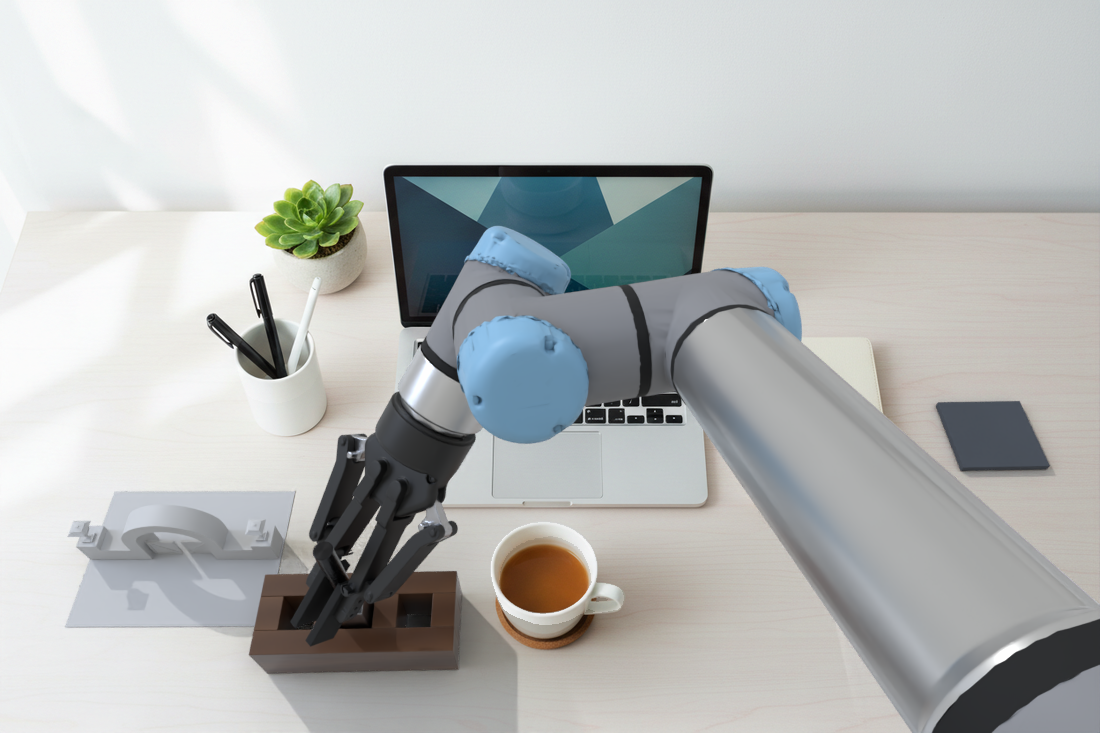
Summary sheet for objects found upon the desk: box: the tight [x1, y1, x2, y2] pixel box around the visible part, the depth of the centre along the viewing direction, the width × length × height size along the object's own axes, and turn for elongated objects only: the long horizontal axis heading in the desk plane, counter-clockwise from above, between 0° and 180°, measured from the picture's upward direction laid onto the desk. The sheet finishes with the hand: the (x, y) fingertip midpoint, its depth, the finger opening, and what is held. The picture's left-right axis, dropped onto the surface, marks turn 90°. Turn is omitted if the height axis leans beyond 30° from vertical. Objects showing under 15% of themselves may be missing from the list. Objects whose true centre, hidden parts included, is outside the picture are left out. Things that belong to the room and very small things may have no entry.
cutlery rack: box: [248, 570, 463, 675], centre depth 75 cm, size 8×18×6 cm, turn 91°
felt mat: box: [935, 400, 1051, 472], centre depth 92 cm, size 9×10×1 cm
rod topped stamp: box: [312, 541, 374, 629], centre depth 69 cm, size 2×2×18 cm
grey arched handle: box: [66, 503, 286, 561], centre depth 79 cm, size 20×2×8 cm, turn 90°
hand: (312, 629), depth 68 cm, fingers closed on rod topped stamp, 1 cm apart
